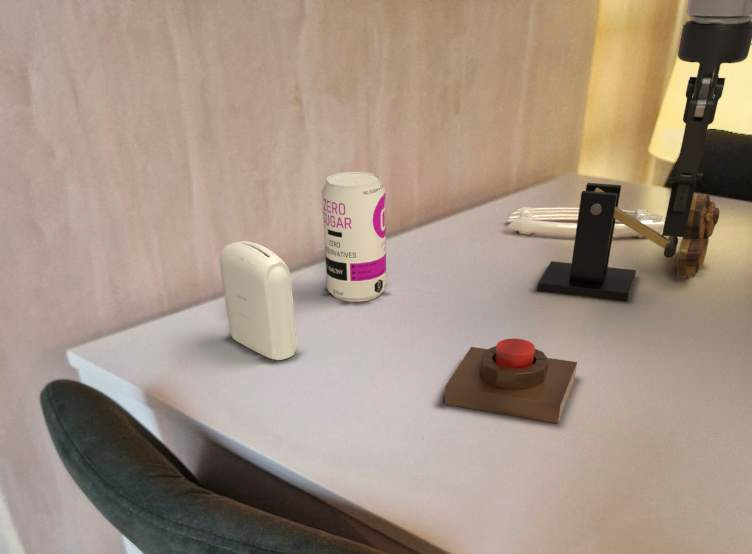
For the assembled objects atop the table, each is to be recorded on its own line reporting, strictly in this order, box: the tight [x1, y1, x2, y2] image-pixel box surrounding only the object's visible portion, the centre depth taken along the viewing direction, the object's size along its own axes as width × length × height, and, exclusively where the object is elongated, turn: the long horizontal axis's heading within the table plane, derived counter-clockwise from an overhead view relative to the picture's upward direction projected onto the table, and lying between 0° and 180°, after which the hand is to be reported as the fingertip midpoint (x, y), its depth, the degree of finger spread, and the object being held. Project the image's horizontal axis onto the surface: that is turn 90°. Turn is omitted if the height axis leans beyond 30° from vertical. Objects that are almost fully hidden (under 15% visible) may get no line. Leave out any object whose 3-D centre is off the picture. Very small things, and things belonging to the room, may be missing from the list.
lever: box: [594, 188, 679, 259], centre depth 100 cm, size 13×5×2 cm, turn 68°
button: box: [495, 338, 536, 369], centre depth 80 cm, size 4×4×2 cm
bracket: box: [537, 182, 637, 302], centre depth 103 cm, size 12×9×13 cm
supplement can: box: [321, 171, 387, 303], centre depth 102 cm, size 8×8×15 cm
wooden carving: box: [676, 193, 720, 278], centre depth 108 cm, size 16×5×10 cm, turn 160°
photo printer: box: [219, 240, 298, 361], centre depth 90 cm, size 10×4×12 cm, turn 41°
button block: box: [444, 345, 578, 424], centre depth 82 cm, size 12×10×4 cm
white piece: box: [506, 206, 665, 239], centre depth 125 cm, size 3×10×25 cm
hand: (673, 234), depth 99 cm, fingers closed
